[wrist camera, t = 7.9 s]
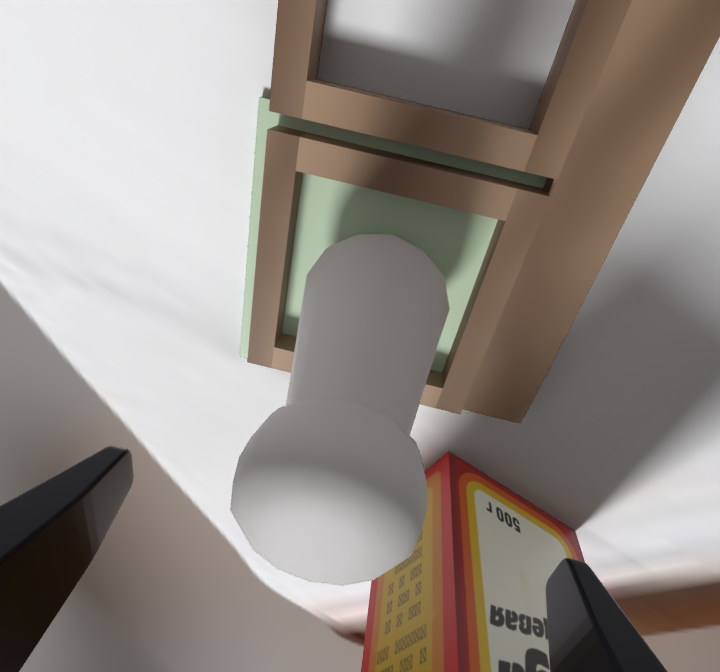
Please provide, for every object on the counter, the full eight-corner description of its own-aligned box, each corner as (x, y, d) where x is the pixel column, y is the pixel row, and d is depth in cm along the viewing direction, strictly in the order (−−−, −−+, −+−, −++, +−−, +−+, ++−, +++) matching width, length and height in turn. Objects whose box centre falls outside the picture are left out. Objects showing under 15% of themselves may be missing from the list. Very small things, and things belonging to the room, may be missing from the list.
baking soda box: (379, 510, 28) (331, 923, 15) (448, 451, 25) (469, 907, 12) (497, 578, 30) (551, 1001, 17) (575, 531, 27) (722, 1006, 13)
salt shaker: (299, 230, 20) (127, 446, 9) (434, 202, 18) (436, 413, 7) (336, 346, 22) (242, 624, 11) (456, 328, 21) (481, 624, 10)
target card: (570, 170, 17) (572, 171, 17) (469, 409, 24) (469, 413, 23) (261, 96, 18) (259, 97, 17) (241, 353, 24) (239, 356, 23)
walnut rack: (821, -208, 12) (871, -244, 11) (516, 407, 23) (522, 429, 22) (324, -321, 12) (310, -370, 11) (258, 344, 23) (247, 362, 22)
